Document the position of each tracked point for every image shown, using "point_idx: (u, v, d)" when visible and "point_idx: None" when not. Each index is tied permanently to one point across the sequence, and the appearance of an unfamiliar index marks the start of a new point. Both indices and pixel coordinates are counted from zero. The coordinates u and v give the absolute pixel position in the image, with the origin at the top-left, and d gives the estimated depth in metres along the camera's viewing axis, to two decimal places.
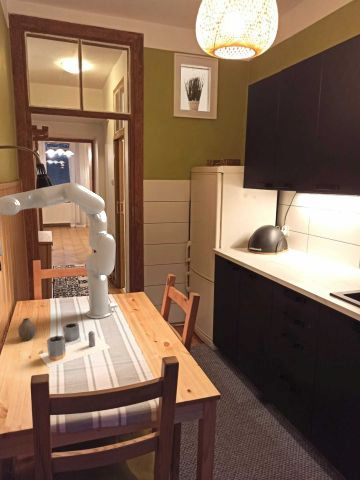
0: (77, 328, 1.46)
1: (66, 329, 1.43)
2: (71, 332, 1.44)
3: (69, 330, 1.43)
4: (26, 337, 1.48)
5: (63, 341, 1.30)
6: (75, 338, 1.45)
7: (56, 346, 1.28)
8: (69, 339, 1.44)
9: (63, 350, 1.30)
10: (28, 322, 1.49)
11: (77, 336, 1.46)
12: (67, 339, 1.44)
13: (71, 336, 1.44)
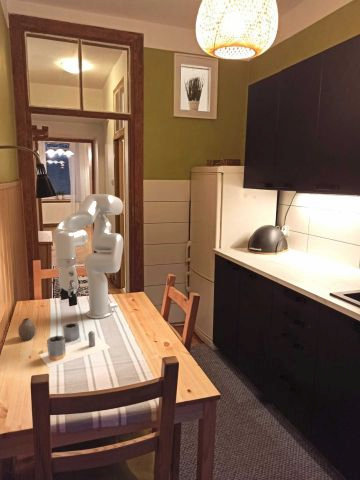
0: (77, 328, 1.46)
1: (66, 329, 1.43)
2: (71, 332, 1.44)
3: (69, 330, 1.43)
4: (26, 337, 1.48)
5: (63, 341, 1.30)
6: (75, 338, 1.45)
7: (56, 346, 1.28)
8: (69, 339, 1.44)
9: (63, 350, 1.30)
10: (28, 322, 1.49)
11: (77, 336, 1.46)
12: (67, 339, 1.44)
13: (71, 336, 1.44)
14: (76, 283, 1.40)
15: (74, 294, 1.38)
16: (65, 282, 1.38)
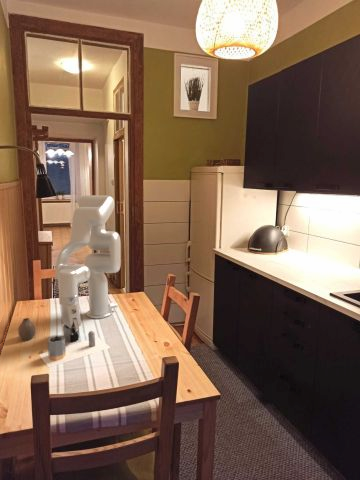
0: None
1: (66, 329, 1.43)
2: None
3: (69, 330, 1.43)
4: (26, 337, 1.48)
5: (63, 341, 1.30)
6: None
7: (56, 346, 1.28)
8: (69, 339, 1.44)
9: (63, 350, 1.30)
10: (28, 322, 1.49)
11: None
12: (67, 339, 1.44)
13: None
14: (79, 320, 1.43)
15: (75, 332, 1.42)
16: (68, 319, 1.41)
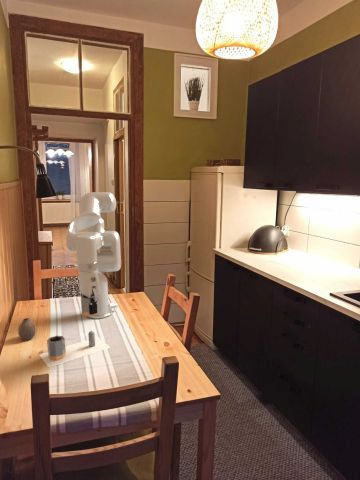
0: None
1: (84, 299, 1.34)
2: None
3: (87, 300, 1.33)
4: (26, 337, 1.48)
5: (63, 341, 1.30)
6: None
7: (56, 346, 1.28)
8: (87, 309, 1.34)
9: (63, 350, 1.30)
10: (28, 322, 1.49)
11: None
12: (85, 310, 1.34)
13: None
14: (98, 289, 1.33)
15: (95, 302, 1.32)
16: (87, 288, 1.31)
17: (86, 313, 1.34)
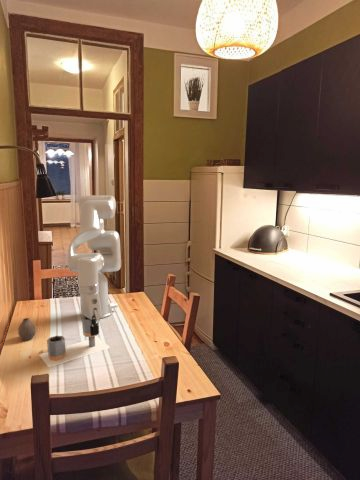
0: None
1: (86, 320, 1.35)
2: None
3: (89, 321, 1.35)
4: (26, 337, 1.48)
5: (63, 341, 1.30)
6: None
7: (56, 346, 1.28)
8: (88, 331, 1.36)
9: (63, 350, 1.30)
10: (28, 322, 1.49)
11: None
12: (87, 331, 1.36)
13: None
14: (99, 311, 1.34)
15: (96, 324, 1.34)
16: (88, 310, 1.33)
17: (87, 334, 1.36)
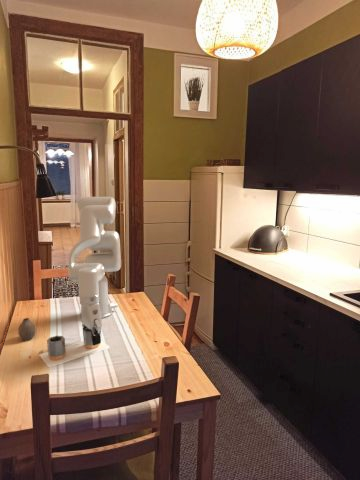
0: None
1: (86, 333, 1.36)
2: None
3: (90, 334, 1.36)
4: (26, 337, 1.48)
5: (63, 341, 1.30)
6: None
7: (56, 346, 1.28)
8: (89, 343, 1.37)
9: (63, 350, 1.30)
10: (28, 322, 1.49)
11: None
12: (87, 343, 1.37)
13: None
14: (100, 321, 1.35)
15: (98, 333, 1.33)
16: (89, 320, 1.34)
17: (88, 346, 1.37)
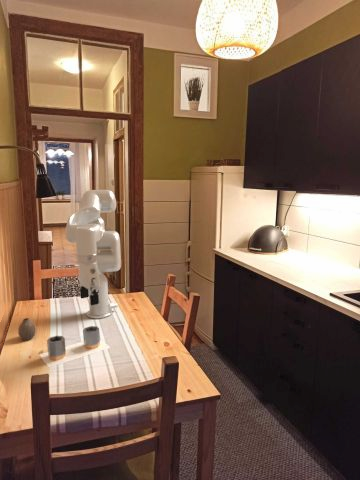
0: (98, 332, 1.38)
1: (86, 333, 1.36)
2: (92, 336, 1.36)
3: (90, 334, 1.36)
4: (26, 337, 1.48)
5: (63, 341, 1.30)
6: (96, 342, 1.38)
7: (56, 346, 1.28)
8: (89, 343, 1.37)
9: (63, 350, 1.30)
10: (28, 322, 1.49)
11: (98, 340, 1.39)
12: (87, 343, 1.37)
13: (92, 340, 1.37)
14: (98, 281, 1.33)
15: (96, 292, 1.31)
16: (86, 280, 1.31)
17: (88, 346, 1.37)
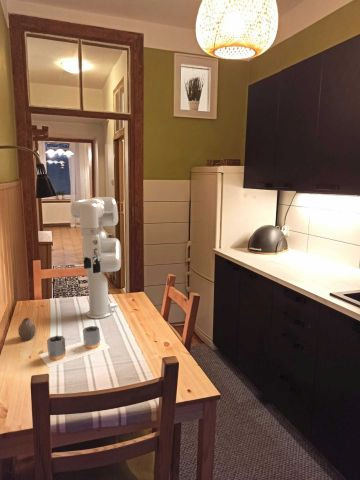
0: (98, 332, 1.38)
1: (86, 333, 1.36)
2: (92, 336, 1.36)
3: (90, 334, 1.36)
4: (26, 337, 1.48)
5: (63, 341, 1.30)
6: (96, 342, 1.38)
7: (56, 346, 1.28)
8: (89, 343, 1.37)
9: (63, 350, 1.30)
10: (28, 322, 1.49)
11: (98, 340, 1.39)
12: (87, 343, 1.37)
13: (92, 340, 1.37)
14: (100, 251, 1.48)
15: (98, 261, 1.46)
16: (89, 250, 1.46)
17: (88, 346, 1.37)
